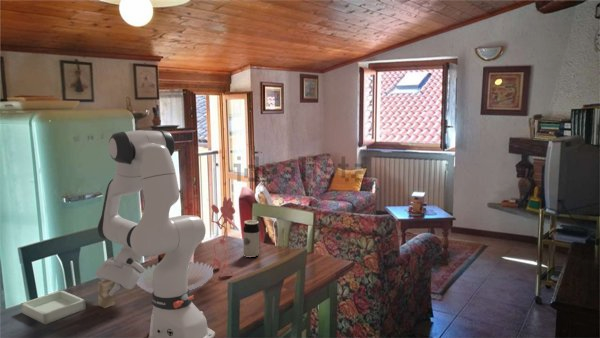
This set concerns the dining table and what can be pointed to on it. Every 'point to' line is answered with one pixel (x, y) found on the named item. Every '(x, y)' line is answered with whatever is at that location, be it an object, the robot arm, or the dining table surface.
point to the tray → (53, 306)
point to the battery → (161, 257)
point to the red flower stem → (228, 216)
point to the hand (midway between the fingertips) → (104, 293)
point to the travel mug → (251, 238)
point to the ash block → (105, 293)
